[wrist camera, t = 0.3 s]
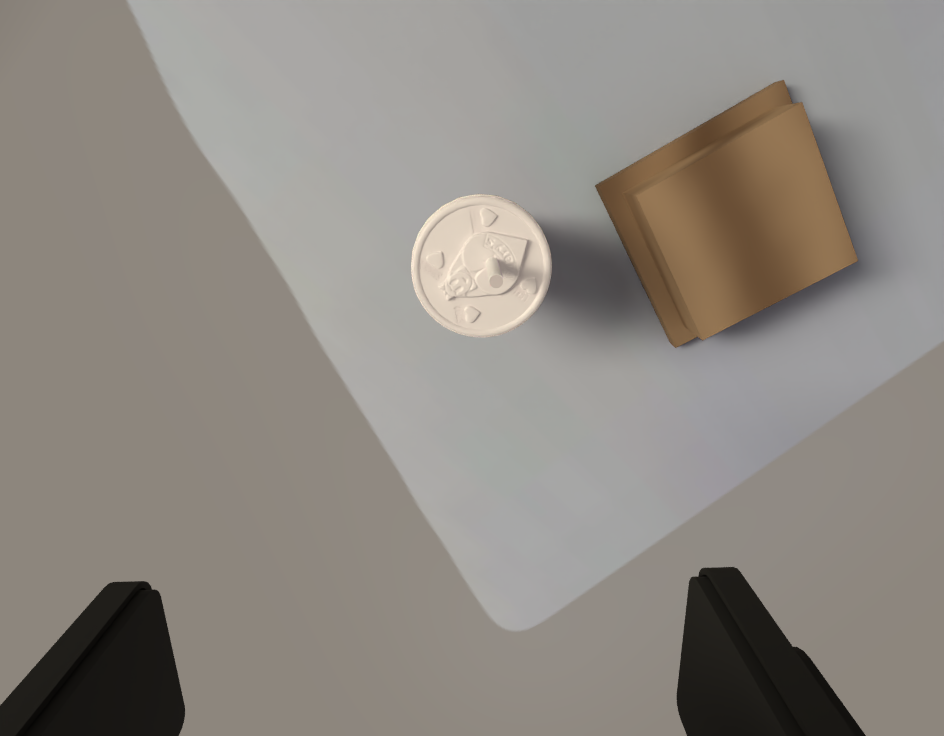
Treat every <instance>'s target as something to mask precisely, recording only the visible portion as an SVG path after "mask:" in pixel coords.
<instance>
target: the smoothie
mask: <svg viewBox="0 0 944 736" xmlns="http://www.w3.org/2000/svg"><path fill="white" fill-rule="evenodd" d="M411 273H412V280H413V285H414V288H415V291H416V294H417V296H418V298H419V300H420V302H421V304H422V305H423V307H424V308H425V310H426V311H427V312H428V313H429V314H430V315H431V317H432V318H434V319H435V320H436V321H437V322H438V323H440V324H441V325H442V326H444V327H446V328H447V329H449V330H451V331H453V332H456V333H459V334H462V335H466V336H471V337H491V336H496V335H500V334H504V333H506V332H509V331H511V330H513V329H515V328H517V327H518V326H520V325H521V324H523V323H524V322H525V321H527V320H528V319H529V318H530V317H531V316H532V315H533V314H534V313H535V312H536V310H537V309H538V308H539V306H540V305H541V303H542V301H543V300H544V298H545V296H546V293H547V291H548V288H549V284H550V280H551V273H552V260H551V253H550V249H549V245H548V242H547V240H546V237H545V235H544V233H543V231H542V229H541V227H540V226H539V225H538V223H537V222H536V221H535V220H534V218H533V217H532V216H531V214H530V213H528V212H527V211H526V210H524V209H523V208H522V207H520V206H519V205H517V204H516V203H515V202H512V201H510V200H507V199H504V198H502V197H499V196H494V195H483V194H476V195H470V196H465V197H460V198H457V199H455V200H453V201H451V202H449V203H447V204H445V205H443V206H442V207H441V208H439V209H438V210H437V211H436V212H435V213H434V214H433V215H431V216H430V217H429V218H428V220H427V221H426V223H425V224H424V226H423V227H422V229H421V230H420V232H419V233H418V236H417V239H416V242H415V245H414V248H413V251H412V261H411Z"/></svg>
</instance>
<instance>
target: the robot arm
mask: <svg viewBox="0 0 944 736" xmlns="http://www.w3.org/2000/svg"><path fill="white" fill-rule="evenodd" d="M677 706H678V711H679V715H680V718H681V721H682V723H683V726H684V728H685V731H686V734H687V736H866V735H865V734H864V733H863V731H862V730H861V729H860V727H859V726H858V724H857V723H856V721H855V720H854V719H853V717H852V716H851V715H850V713H849V712H848V710H847V709H846V708H845V706H844V705H843V703H842V702H841V701H840V699H839V698H838V697H837V695H836V694H835V692H834V691H833V689H832V688H831V687H830V685H829V684H828V683H827V681H826V680H825V678H824V677H823V676H822V674H821V673H820V672H819V670H818V669H817V667H816V666H815V664H814V663H813V662H812V660H811V659H810V658H809V657H808V656H807V654H806V653H805V652H804V651H803V650H801V649H799V648H798V647H792V645H791V644H790V642H789V641H788V639H787V638H786V637H785V635H784V634H783V633H782V631H781V630H780V628H779V627H778V625H777V624H776V623H775V621H774V619H773V618H772V617H771V615H770V614H769V612H768V611H767V610H766V608H765V607H764V605H763V604H762V602H761V601H760V599H759V598H758V597H757V595H756V594H755V592H754V591H753V590H752V588H751V587H750V585H749V584H748V582H747V581H746V580H745V578H744V577H743V575H742V574H741V572H740V571H739V570H738V569H737V568H734V567H723V568H702V569H701V570H700V572H699V576H698V577H691V579H690V581H689V589H688V598H687V606H686V616H685V624H684V634H683V643H682V652H681V661H680V670H679V679H678V688H677ZM184 717H185V705H184V701H183V696H182V692H181V687H180V683H179V678H178V673H177V669H176V665H175V659H174V656H173V650H172V646H171V642H170V636H169V632H168V627H167V623H166V618H165V614H164V609H163V604H162V600H161V596H160V593H159V592H158V591H157V590H152V589H151V586H150V585H149V583H148V582H144V581H138V582H113V583H109V584H108V585H107V586H106V587H104V588H103V590H102V591H101V592H100V593H99V594H98V595H97V596H96V598H95V599H94V600H93V601H92V602H91V603H90V604H89V606H88V607H87V608H86V609H85V610H84V611H83V612H82V613H81V615H80V616H79V617H78V618H77V619H76V620H75V621H74V623H73V624H72V625H71V626H70V627H69V628H68V629H67V630H66V632H65V633H64V634H63V635H62V636H61V637H60V638H59V640H58V641H57V642H56V643H55V644H54V645H53V646H52V647H51V649H50V650H49V651H48V652H47V653H46V654H45V655H44V657H43V658H42V659H41V660H40V661H39V662H38V663H37V665H36V666H35V667H34V668H33V669H32V670H31V671H30V672H29V674H28V675H27V676H26V677H25V678H24V679H23V680H22V682H21V683H20V684H19V685H18V686H17V687H16V688H15V690H14V691H13V692H12V693H11V694H10V695H9V696H8V698H7V699H6V700H5V701H4V702H3V703H2V704H1V705H0V736H179V733H180V731H181V729H182V726H183V723H184Z"/></svg>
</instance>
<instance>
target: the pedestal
mask: <svg viewBox="0 0 944 736" xmlns="http://www.w3.org/2000/svg"><path fill="white" fill-rule="evenodd" d="M595 187H596V189H597V191H598V193H599V195H600V197H601V199H602V201H603V203H604V206H605V208H606V210H607V212H608V214H609V216H610V218H611V220H612V222H613V224H614V226H615V229H616V231H617V233H618V235H619V237H620V239H621V241H622V243H623V245H624V247H625V249H626V252H627V254H628V256H629V258H630V260H631V262H632V264H633V266H634V268H635V270H636V272H637V274H638V277H639V279H640V281H641V283H642V285H643V287H644V289H645V291H646V293H647V295H648V297H649V300H650V302H651V304H652V306H653V308H654V310H655V312H656V314H657V316H658V318H659V320H660V322H661V325H662V327H663V329H664V331H665V333H666V335H667V337H668V339H669V341H670V343H671V344H672V345H673V346H674V347H675V348H676V347H678V346H680V345H682V344H684V343H686V342H688V341H690V340H692V339H694V338H696V337H699V338H700V339H701V340H704V339H706V338H708V337H710V336H712V335H714V334H716V333H718V332H720V331H722V330H724V329H726V328H728V327H730V326H732V325H734V324H736V323H737V322H739V321H741V320H743V319H745V318H747V317H749V316H751V315H753V314H755V313H757V312H759V311H761V310H763V309H765V308H767V307H769V306H771V305H773V304H775V303H777V302H779V301H781V300H782V299H784V298H786V297H788V296H790V295H792V294H794V293H796V292H798V291H800V290H802V289H804V288H806V287H808V286H810V285H812V284H814V283H816V282H818V281H820V280H822V279H824V278H825V277H827V276H829V275H831V274H833V273H835V272H837V271H839V270H841V269H843V268H845V267H847V266H849V265H851V264H853V263H855V262H857V261H858V259H857V256H856V253H855V250H854V248H853V245H852V242H851V239H850V236H849V233H848V231H847V228H846V225H845V222H844V219H843V217H842V214H841V211H840V208H839V205H838V202H837V200H836V197H835V194H834V191H833V188H832V185H831V183H830V180H829V177H828V174H827V171H826V168H825V166H824V163H823V160H822V157H821V154H820V151H819V149H818V146H817V143H816V140H815V137H814V134H813V132H812V129H811V126H810V123H809V120H808V117H807V115H806V112H805V109H804V106H803V103H802V102H800V103H795V104H792V101H791V98H790V96H789V93H788V90H787V87H786V84H785V82H784V80H782V81H778V82H775V83H773V84H771V85H769V86H768V87H766V88H764V89H762V90H761V91H759V92H757V93H755V94H754V95H752V96H750V97H748V98H747V99H745V100H743V101H741V102H740V103H738V104H736V105H735V106H733V107H731V108H729V109H728V110H726V111H724V112H722V113H721V114H719V115H717V116H715V117H714V118H712V119H710V120H708V121H707V122H705V123H703V124H701V125H700V126H698V127H696V128H694V129H693V130H691V131H689V132H687V133H686V134H684V135H682V136H681V137H679V138H677V139H675V140H674V141H672V142H670V143H668V144H667V145H665V146H663V147H661V148H660V149H658V150H656V151H654V152H653V153H651V154H649V155H647V156H646V157H644V158H642V159H640V160H639V161H637V162H635V163H633V164H632V165H630V166H628V167H626V168H625V169H623V170H621V171H620V172H618V173H616V174H614V175H613V176H611V177H609V178H607V179H606V180H604V181H602V182H600V183H599V184H597V185H595Z"/></svg>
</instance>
